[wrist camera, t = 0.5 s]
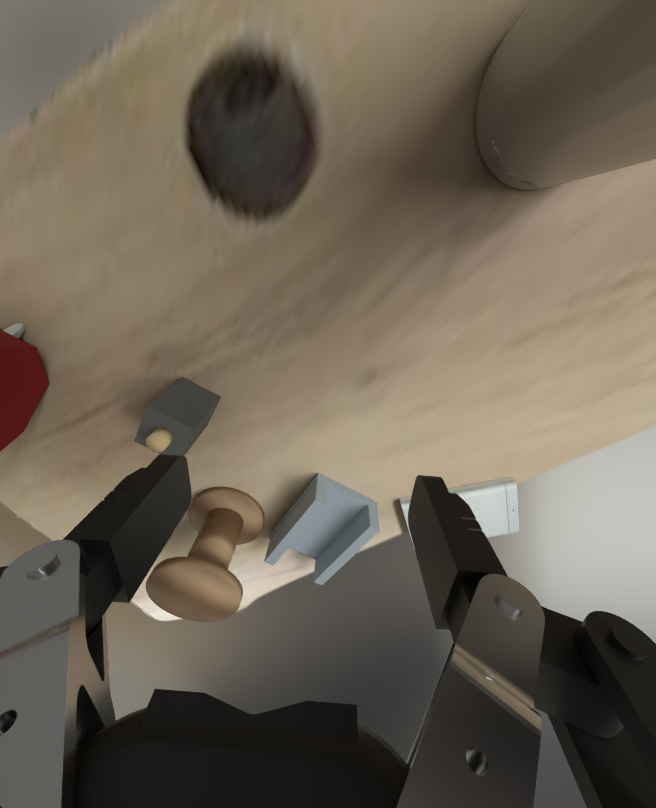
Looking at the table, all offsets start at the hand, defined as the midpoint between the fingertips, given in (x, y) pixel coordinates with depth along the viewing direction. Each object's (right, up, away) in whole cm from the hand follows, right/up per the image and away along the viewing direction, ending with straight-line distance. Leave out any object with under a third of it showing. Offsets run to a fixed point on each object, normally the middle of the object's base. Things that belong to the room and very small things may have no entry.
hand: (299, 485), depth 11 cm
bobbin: (-11, -11, +27) cm, 32 cm away
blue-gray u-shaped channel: (0, -11, +27) cm, 29 cm away
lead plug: (-12, +3, +20) cm, 24 cm away
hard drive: (+16, -10, +26) cm, 32 cm away
